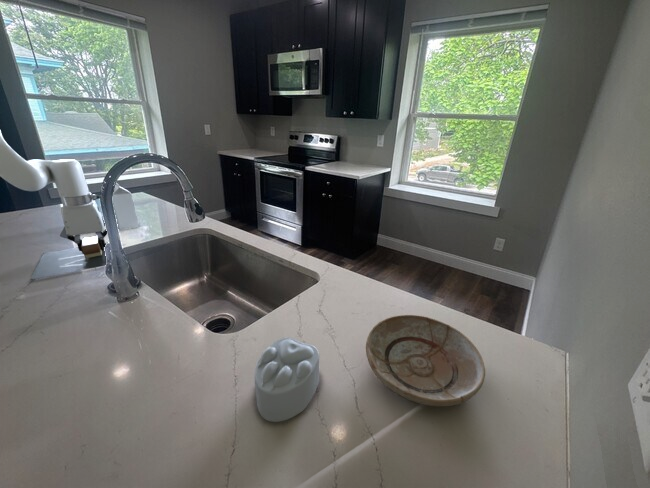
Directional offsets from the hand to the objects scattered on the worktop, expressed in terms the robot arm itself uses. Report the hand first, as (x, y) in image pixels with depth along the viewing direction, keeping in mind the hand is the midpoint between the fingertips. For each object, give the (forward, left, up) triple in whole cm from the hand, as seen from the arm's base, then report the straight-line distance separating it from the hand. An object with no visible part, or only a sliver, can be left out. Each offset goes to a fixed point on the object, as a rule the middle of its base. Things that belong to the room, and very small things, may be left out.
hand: (93, 250), depth 103 cm
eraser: (0, 0, -1) cm, 1 cm away
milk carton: (+10, +25, -2) cm, 27 cm away
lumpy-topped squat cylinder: (+34, -83, -2) cm, 90 cm away
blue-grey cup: (-2, +34, -2) cm, 34 cm away
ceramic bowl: (+61, -92, -2) cm, 111 cm away
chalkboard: (-5, -2, -2) cm, 6 cm away
